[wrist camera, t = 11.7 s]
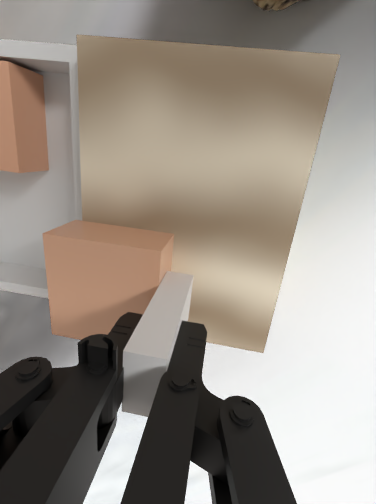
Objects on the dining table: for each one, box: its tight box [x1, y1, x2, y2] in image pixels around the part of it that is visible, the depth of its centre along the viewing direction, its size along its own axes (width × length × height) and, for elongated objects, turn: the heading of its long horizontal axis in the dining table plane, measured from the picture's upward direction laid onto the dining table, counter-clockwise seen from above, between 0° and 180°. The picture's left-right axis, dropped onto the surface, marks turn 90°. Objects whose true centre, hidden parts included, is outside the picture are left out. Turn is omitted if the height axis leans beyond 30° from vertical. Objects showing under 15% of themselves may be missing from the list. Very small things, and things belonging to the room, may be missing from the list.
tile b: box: [42, 220, 174, 340], centre depth 15 cm, size 6×6×3 cm
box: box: [0, 39, 82, 299], centre depth 19 cm, size 16×13×4 cm
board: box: [77, 35, 340, 353], centre depth 17 cm, size 16×12×5 cm
